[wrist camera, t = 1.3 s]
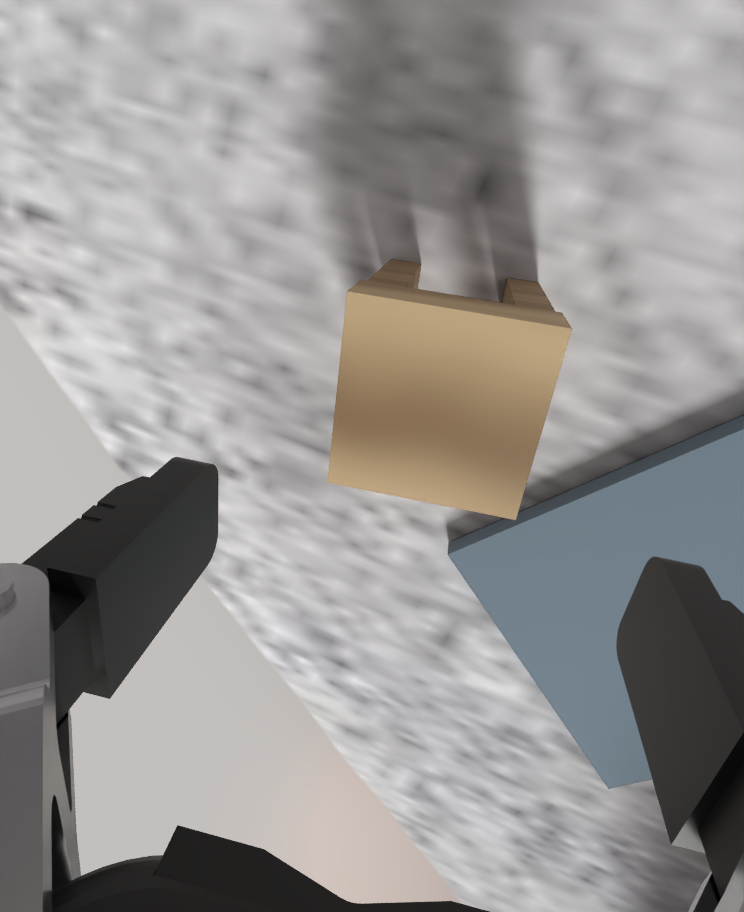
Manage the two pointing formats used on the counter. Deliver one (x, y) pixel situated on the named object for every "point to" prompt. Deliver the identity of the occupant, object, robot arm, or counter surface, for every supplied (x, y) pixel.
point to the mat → (607, 578)
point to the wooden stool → (444, 391)
